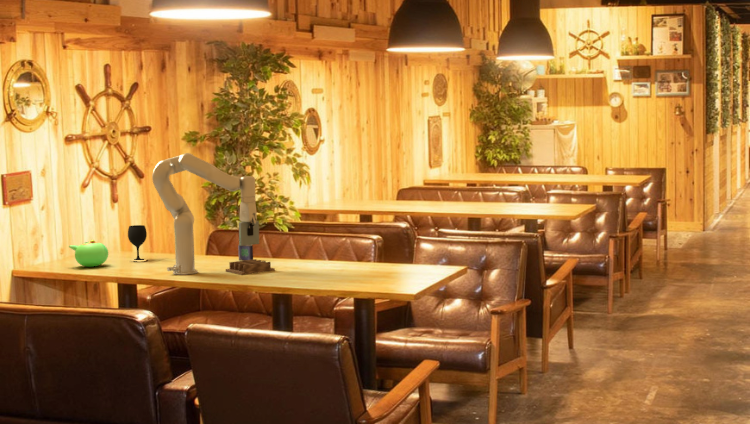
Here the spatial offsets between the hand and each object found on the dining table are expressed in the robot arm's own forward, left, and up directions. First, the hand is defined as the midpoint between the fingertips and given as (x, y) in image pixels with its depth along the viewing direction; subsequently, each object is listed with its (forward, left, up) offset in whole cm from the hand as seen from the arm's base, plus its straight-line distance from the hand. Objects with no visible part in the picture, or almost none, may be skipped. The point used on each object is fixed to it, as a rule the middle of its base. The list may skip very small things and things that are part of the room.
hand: (249, 235), depth 496 cm
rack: (0, 0, -19) cm, 19 cm away
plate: (0, 0, -5) cm, 5 cm away
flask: (+20, +36, -19) cm, 45 cm away
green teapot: (-54, +76, -19) cm, 95 cm away
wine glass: (-25, +79, -19) cm, 85 cm away
